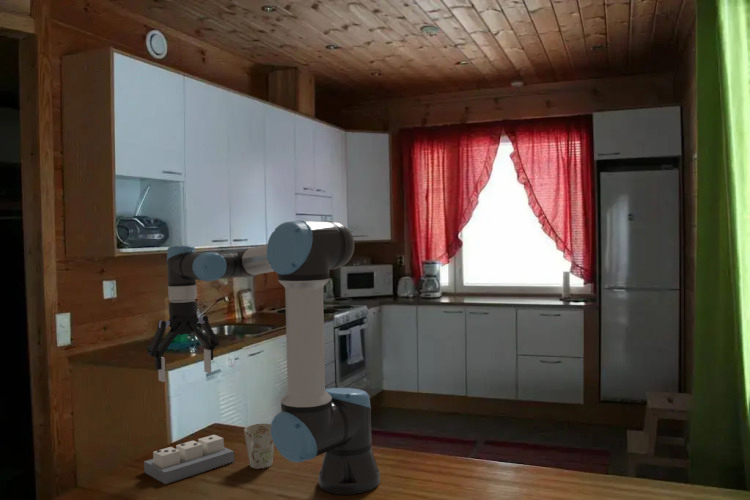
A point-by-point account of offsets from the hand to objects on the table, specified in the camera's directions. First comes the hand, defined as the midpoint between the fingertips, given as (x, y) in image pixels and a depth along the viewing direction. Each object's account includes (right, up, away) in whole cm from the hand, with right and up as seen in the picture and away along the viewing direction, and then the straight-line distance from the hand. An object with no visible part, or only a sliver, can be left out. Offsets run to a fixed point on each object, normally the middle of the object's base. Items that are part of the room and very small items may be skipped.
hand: (185, 376), depth 171 cm
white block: (+7, -21, -1) cm, 22 cm away
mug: (+22, -23, -7) cm, 33 cm away
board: (+3, -23, -5) cm, 24 cm away
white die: (+3, -21, -5) cm, 22 cm away
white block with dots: (-2, -21, -10) cm, 24 cm away
